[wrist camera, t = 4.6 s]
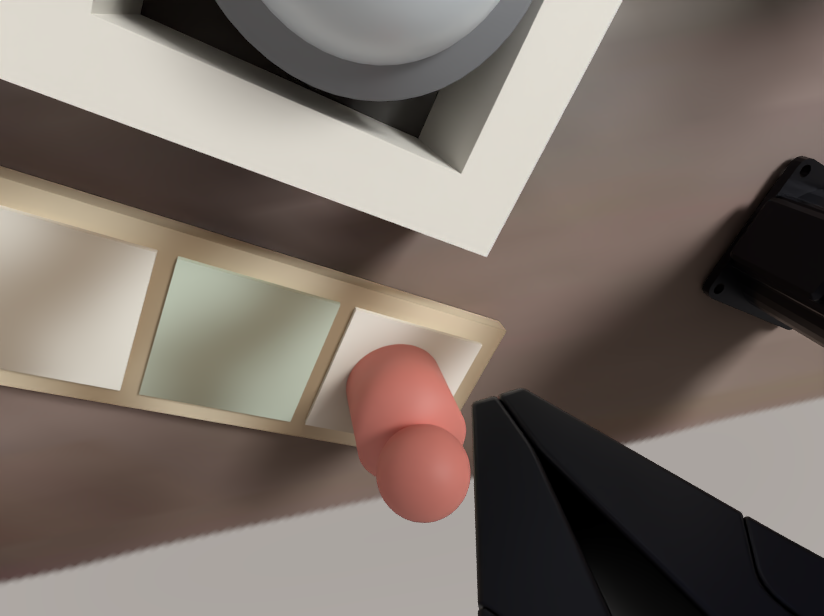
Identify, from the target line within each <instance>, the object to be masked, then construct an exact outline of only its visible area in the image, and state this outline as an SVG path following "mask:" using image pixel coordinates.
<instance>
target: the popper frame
mask: <svg viewBox="0 0 824 616" xmlns="http://www.w3.org/2000/svg"><path fill="white" fill-rule="evenodd" d="M622 1H623V0H532V2H531V4H530V6H529V8H528V10H527V11H526V13H525V14H524V16H523V17H522V19H521V20H520V22H519V23H518V25H517V26H516V27H515V29H514V30H513V32H512V33H511V34H510V35H509V36H508V38H507V39H506V40H505V41H504V42H503V43H502V45H501V46H500V47H499V48H498V49H497V50H496V51H495V52H494V53H493V54H492V55H491V56H490V57H489V58H487V59H486V60H485V61H484V62H483V63H482V64H481V65H480V66H478V67H477V68H476V69H474V70H473V71H471V72H470V73H468V74H467V75H466V76H464V77H463V78H461V79H459V80H457V81H456V82H454V83H452V84H450V85H448V86H446V87H444V88H442V89H440V90H439V92H438V94H437V97H436V99H435V101H434V104H433V106H432V108H431V110H430V113H429V115H428V117H427V120H426V122H425V124H424V127H423V129H422V131H421V133H420V136H419V138H416V137H413V136H411V135H409V134H407V133H405V132H402V131H400V130H398V129H396V128H393V127H391V126H389V125H387V124H384V123H382V122H380V121H378V120H375V119H373V118H371V117H369V116H366V115H364V114H362V113H360V112H358V111H355V110H353V109H351V108H349V107H346V106H344V105H342V104H340V103H337V102H335V101H333V100H331V99H328V98H326V97H324V96H322V95H319V94H317V93H315V92H313V91H311V90H308V89H306V88H304V87H302V86H299V85H297V84H295V83H293V82H290V81H288V80H286V79H284V78H281V77H279V76H277V75H275V74H273V73H270V72H268V71H266V70H264V69H261V68H259V67H257V66H255V65H252V64H250V63H248V62H246V61H243V60H241V59H239V58H237V57H234V56H232V55H230V54H228V53H226V52H223V51H221V50H219V49H217V48H214V47H212V46H210V45H208V44H205V43H203V42H201V41H199V40H196V39H194V38H192V37H190V36H187V35H185V34H183V33H181V32H179V31H176V30H174V29H172V28H170V27H167V26H165V25H163V24H161V23H158V22H156V21H154V20H152V19H149V18H147V17H145V16H143V15H141V9H142V4H143V0H0V79H3V80H5V81H8V82H11V83H13V84H16V85H19V86H22V87H24V88H27V89H30V90H33V91H35V92H38V93H41V94H43V95H46V96H49V97H52V98H54V99H57V100H60V101H63V102H65V103H68V104H71V105H73V106H76V107H79V108H82V109H84V110H87V111H90V112H93V113H95V114H98V115H101V116H103V117H106V118H109V119H112V120H114V121H117V122H120V123H123V124H125V125H128V126H131V127H133V128H136V129H139V130H142V131H144V132H147V133H150V134H153V135H155V136H158V137H161V138H163V139H166V140H169V141H172V142H174V143H177V144H180V145H183V146H185V147H188V148H191V149H193V150H196V151H199V152H202V153H204V154H207V155H210V156H213V157H215V158H218V159H221V160H223V161H226V162H229V163H232V164H234V165H237V166H240V167H243V168H245V169H248V170H251V171H253V172H256V173H259V174H262V175H264V176H267V177H270V178H273V179H275V180H278V181H281V182H283V183H286V184H289V185H292V186H294V187H297V188H300V189H303V190H305V191H308V192H311V193H313V194H316V195H319V196H322V197H324V198H327V199H330V200H333V201H335V202H338V203H341V204H343V205H346V206H349V207H352V208H354V209H357V210H360V211H363V212H365V213H368V214H371V215H373V216H376V217H379V218H382V219H384V220H387V221H390V222H393V223H395V224H398V225H401V226H403V227H406V228H409V229H412V230H414V231H417V232H420V233H423V234H425V235H428V236H431V237H433V238H436V239H439V240H442V241H444V242H447V243H450V244H453V245H455V246H458V247H461V248H463V249H466V250H469V251H472V252H474V253H477V254H480V255H483V256H485V257H487V256H488V254H489V252H490V250H491V248H492V246H493V244H494V243H495V241H496V239H497V237H498V235H499V233H500V231H501V229H502V227H503V226H504V224H505V222H506V220H507V218H508V216H509V214H510V212H511V210H512V209H513V207H514V205H515V203H516V201H517V199H518V197H519V195H520V193H521V192H522V190H523V188H524V186H525V184H526V182H527V180H528V178H529V176H530V175H531V173H532V171H533V169H534V167H535V165H536V163H537V161H538V159H539V157H540V156H541V154H542V152H543V150H544V148H545V146H546V144H547V142H548V140H549V139H550V137H551V135H552V133H553V131H554V129H555V127H556V125H557V123H558V122H559V120H560V118H561V116H562V114H563V112H564V110H565V108H566V106H567V105H568V103H569V101H570V99H571V97H572V95H573V93H574V91H575V89H576V88H577V86H578V84H579V82H580V80H581V78H582V76H583V74H584V72H585V71H586V69H587V67H588V65H589V63H590V61H591V59H592V57H593V55H594V54H595V52H596V50H597V48H598V46H599V44H600V42H601V40H602V38H603V37H604V35H605V33H606V31H607V29H608V27H609V25H610V23H611V21H612V20H613V18H614V16H615V14H616V12H617V10H618V8H619V6H620V4H621V3H622Z"/></svg>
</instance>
